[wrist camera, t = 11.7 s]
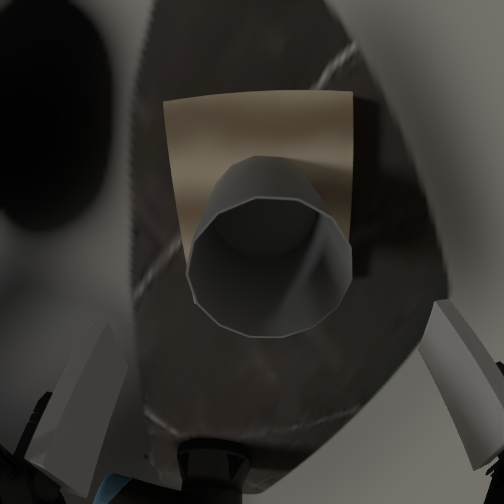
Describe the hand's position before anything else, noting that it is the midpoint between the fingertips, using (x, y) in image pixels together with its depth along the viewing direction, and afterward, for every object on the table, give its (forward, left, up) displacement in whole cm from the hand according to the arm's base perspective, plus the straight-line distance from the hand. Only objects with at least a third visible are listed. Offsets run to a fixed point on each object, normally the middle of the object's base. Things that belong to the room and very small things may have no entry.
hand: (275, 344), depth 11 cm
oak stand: (0, 0, -19) cm, 19 cm away
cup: (0, 0, -15) cm, 15 cm away
